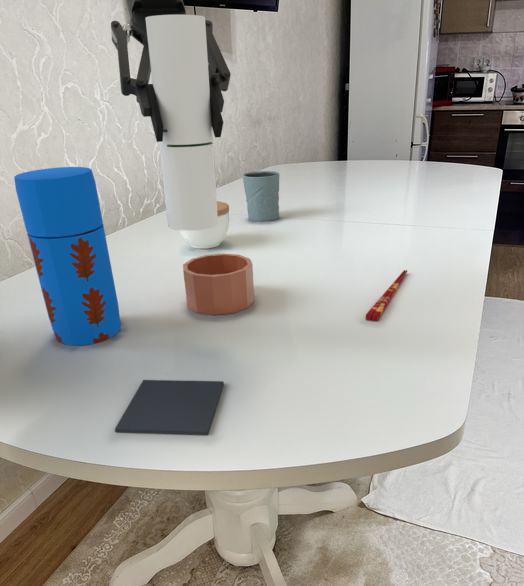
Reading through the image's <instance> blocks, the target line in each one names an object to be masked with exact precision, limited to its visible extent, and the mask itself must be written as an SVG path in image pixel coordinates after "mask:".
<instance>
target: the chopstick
mask: <svg viewBox="0 0 524 586" xmlns="http://www.w3.org/2000/svg"><path fill="white" fill-rule="evenodd" d="M407 273H408V270H407V269H406V270H405V269H404V270H402V272H401V273H400V274H399V275H398V276H397V278H396V279H395V280H394V281H393V282H392V283H391V285H390V286H389V287H388V288H387V289H386V291H385V292H384V293H383V294H382V295H381V296H380V297H379V298H378V300H377V301H376V302H375V303H374V305H372V307H370V309H369V310H368V311H367V313H366V314H365V320H368V321H375V322H378V321H379V319H380V317H381V315H382V314H383V312H384V310H385V309H386V307H387V306H388V304H389V303H390V301H391V299H392V298H393V296H394V294H395V293H396V291H397V289H398V288H399V286H400V285H401V283H402V281H403V280H404V279H405V276H406V275H407Z"/></svg>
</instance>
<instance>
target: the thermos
mask: <svg viewBox="0 0 524 586" xmlns="http://www.w3.org/2000/svg"><path fill="white" fill-rule="evenodd" d="M13 178H14V186H15V192H16V196H17V200H18V204H19V208H20V211H21V215H22V219H23V223H24V227H25V231H26V233H27V234H26V236H27V239H28V243H29V247H30V250H31V254H32V258H33V263H34V266H35V270H36V274H37V278H38V281H39V285H40V288H41V289H40V290H41V294H42V296H43V301H44V305H45V309H46V312H47V316H48V321H49V322H50V326H51V329H52V332H53V334H54V337H55V339H56V342H58V343H60V344H62V345H66V346H73V347H75V346H88V345H93V344H98V343H101V342H104V341H107V340H109V339H111V338H113V337H114V336H116V335H117V334H118V333H119V332H120V331H121V326H122V323H121V316H120V308H119V301H118V297H117V296H118V295H117V291H116V286H115V280H114V279H115V278H114V274H113V268H112V263H111V258H110V252H109V247H108V241H107V237H106V232H105V225H104V220H103V215H102V209H101V205H100V199H99V193H98V188H97V184H96V183H97V182H96V179H95V176H94V173H93V170H92V168H90V167H85V166H61V167H60V166H59V167H51V168H50V167H47V168H40V169H33V170H29V171H24V172H21V173H18V174H16V175H14V177H13Z"/></svg>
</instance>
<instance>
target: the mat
mask: <svg viewBox="0 0 524 586" xmlns="http://www.w3.org/2000/svg"><path fill="white" fill-rule="evenodd" d="M224 386H225V382H224V381H223V380H222V381H221V380H174V379H173V380H170V379H169V380H168V379H143V380H142V381H141V383H140V385H139V387H138V388H137V390H136V392H135V393H134V395H133V397H132V398H131V400H130V402H129V404H128V406H127V407H126V409H125V410H124V412H123V414H122V415H121V418H120V419H119V421H118V422H117V424H116V426H115V428H114V432H115V433H130V434H131V433H133V434H134V433H135V434H165V435H199V436H208V435H209V432H210V430H211V426H212V422H213V421H214V417H215V413H216V410H217V407H218V404H219V401H220V398H221V396H222V395H221V394H222V392H223V388H224Z"/></svg>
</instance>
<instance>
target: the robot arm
mask: <svg viewBox="0 0 524 586" xmlns="http://www.w3.org/2000/svg"><path fill="white" fill-rule="evenodd" d="M125 2H126V6H127V10H128V14H129V18H130V20H129V23H127V24H121V23H120V21H118V20H112V21H111V22H110V31H111V43H112V44H113V45H114V47H115V49H116V50H117V60H118V61H117V62H118V71H119V73H118V74H119V81H120V82H119V83H120V84H119V85H120V93H121V94H122V96H124V97H128V96H131V95H132V96H135V97H136V102H137V103H138V105H139V110H140V114H141V116H143V118H146V117H147V118H148V117H149V118H150V120H151V124H152V129H153V132H154V137H155V141H156V143H159V142H162V141H163V122H162V119H161V115H160V111H159V107H158V103H157V99H156V95H155V91H154V87H153V83H150V78H151V75H152V74H151V65H150V56H149V46H148V37H147V28H146V19H145V18H146V17H149V16H157V15H187V12H186V7H185V3H184V0H125ZM213 25H214V24H213V22H212V21H211V20H208V19H205V26H206V41H207V57H208V72H209V88H210V108H211V123H212V133H213V136H214V138H221V137H222V133H223V126H224V119H223V116H222V113H223V111H224V104H225V100H224V96H223V92H227V91H228V90H229V86H230V80H231V75H232V74H231V72H230V69H229V67H228V64H227V62H226V59H225V58H224V55H223V53H222V51H221V50H220V46H219V44H218V42H217V40H216V38H215V35H214V33H213V32H214V31H213ZM131 37H132V38H133V39H135V40H136V41H137V42H138V43H139V44H140V45H142V51H141V56H140V60H139V66H138V70H137V74H136V77H135V78H134V77H131V68H130V60H129V59H130V57H129V49H128V44H129V43H130V42H131Z"/></svg>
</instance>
